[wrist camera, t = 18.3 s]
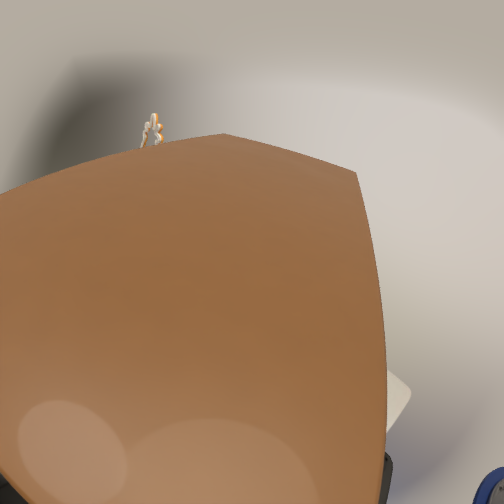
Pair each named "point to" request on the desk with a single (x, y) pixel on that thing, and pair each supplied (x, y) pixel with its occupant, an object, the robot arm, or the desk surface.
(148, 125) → the lamp
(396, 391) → the desk surface
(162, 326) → the brown packet
